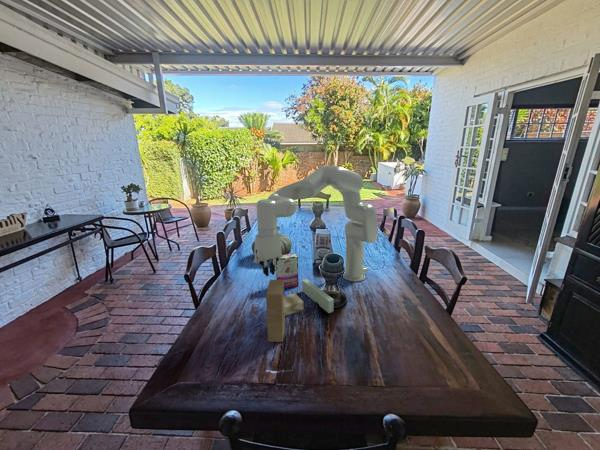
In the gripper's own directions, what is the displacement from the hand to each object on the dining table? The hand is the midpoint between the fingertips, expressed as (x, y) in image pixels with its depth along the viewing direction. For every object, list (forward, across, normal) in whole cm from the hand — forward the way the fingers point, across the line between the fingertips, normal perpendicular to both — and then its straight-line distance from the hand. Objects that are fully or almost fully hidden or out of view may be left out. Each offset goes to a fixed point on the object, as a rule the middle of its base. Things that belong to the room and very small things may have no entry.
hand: (269, 273), depth 114 cm
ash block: (+19, -10, 0) cm, 22 cm away
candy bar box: (+19, -18, -19) cm, 33 cm away
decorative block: (+19, +3, +12) cm, 23 cm away
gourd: (+19, -27, -56) cm, 65 cm away
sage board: (+19, -23, +1) cm, 30 cm away
